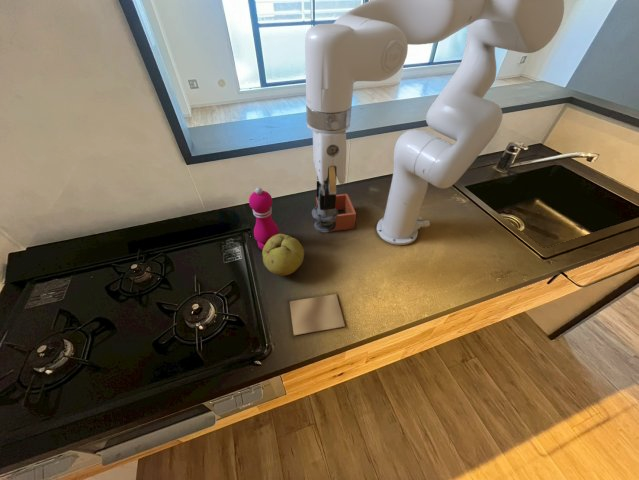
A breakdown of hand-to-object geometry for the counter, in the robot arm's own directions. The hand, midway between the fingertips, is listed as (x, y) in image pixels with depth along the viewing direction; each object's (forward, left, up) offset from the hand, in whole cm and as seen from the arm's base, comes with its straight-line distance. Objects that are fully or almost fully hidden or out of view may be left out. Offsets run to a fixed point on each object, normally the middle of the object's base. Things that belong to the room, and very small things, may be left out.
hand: (325, 201), depth 60 cm
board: (+5, +13, -23) cm, 27 cm away
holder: (-7, -20, -23) cm, 32 cm away
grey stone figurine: (0, 0, -7) cm, 7 cm away
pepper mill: (+15, -13, -24) cm, 31 cm away
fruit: (+11, -3, -24) cm, 26 cm away
